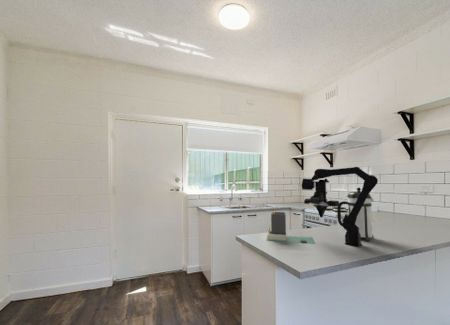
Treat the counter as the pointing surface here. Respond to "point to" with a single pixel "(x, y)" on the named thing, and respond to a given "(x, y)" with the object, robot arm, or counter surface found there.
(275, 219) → the grey tall block
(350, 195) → the coffee press
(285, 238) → the board
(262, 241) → the counter surface
